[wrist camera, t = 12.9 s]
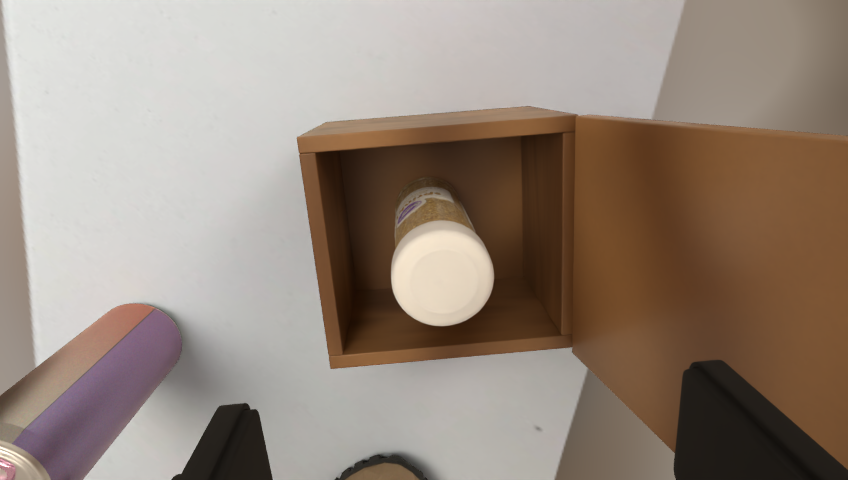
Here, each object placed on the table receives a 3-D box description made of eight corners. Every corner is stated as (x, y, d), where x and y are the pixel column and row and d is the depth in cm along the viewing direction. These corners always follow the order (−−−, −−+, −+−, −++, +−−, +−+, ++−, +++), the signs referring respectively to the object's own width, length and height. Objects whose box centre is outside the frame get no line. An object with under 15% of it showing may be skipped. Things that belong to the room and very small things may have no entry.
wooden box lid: (825, 602, 14) (969, 555, 15) (924, 147, 10) (1106, 124, 11) (571, 352, 28) (656, 336, 29) (574, 115, 24) (672, 106, 25)
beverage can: (199, 323, 37) (73, 472, 23) (166, 384, 39) (28, 562, 24) (120, 285, 36) (-64, 417, 22) (89, 350, 37) (-103, 514, 23)
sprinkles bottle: (416, 162, 34) (426, 211, 21) (473, 197, 35) (517, 264, 22) (381, 220, 35) (371, 299, 22) (438, 252, 36) (459, 347, 23)
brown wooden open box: (347, 297, 37) (330, 369, 28) (325, 122, 33) (296, 137, 24) (531, 281, 37) (575, 347, 28) (529, 106, 34) (579, 114, 24)
